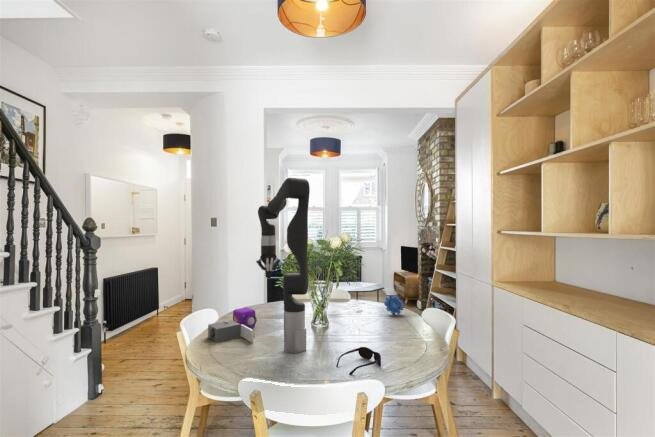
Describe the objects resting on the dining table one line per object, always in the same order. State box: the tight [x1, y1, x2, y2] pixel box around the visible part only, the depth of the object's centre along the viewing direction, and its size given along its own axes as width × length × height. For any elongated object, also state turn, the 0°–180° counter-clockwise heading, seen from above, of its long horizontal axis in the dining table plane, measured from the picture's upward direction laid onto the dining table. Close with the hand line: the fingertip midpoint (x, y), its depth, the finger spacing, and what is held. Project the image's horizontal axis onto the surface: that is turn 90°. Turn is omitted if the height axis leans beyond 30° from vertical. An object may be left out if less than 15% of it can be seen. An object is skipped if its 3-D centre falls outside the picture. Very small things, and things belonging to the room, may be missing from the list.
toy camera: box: [232, 306, 257, 331], centre depth 184 cm, size 11×14×10 cm
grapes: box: [383, 294, 404, 315], centre depth 209 cm, size 12×7×12 cm, turn 89°
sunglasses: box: [336, 346, 382, 376], centre depth 134 cm, size 14×16×5 cm
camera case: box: [207, 319, 241, 343], centre depth 169 cm, size 10×13×7 cm
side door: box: [240, 324, 255, 343], centre depth 166 cm, size 2×12×5 cm, turn 38°
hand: (268, 278), depth 178 cm, fingers closed
